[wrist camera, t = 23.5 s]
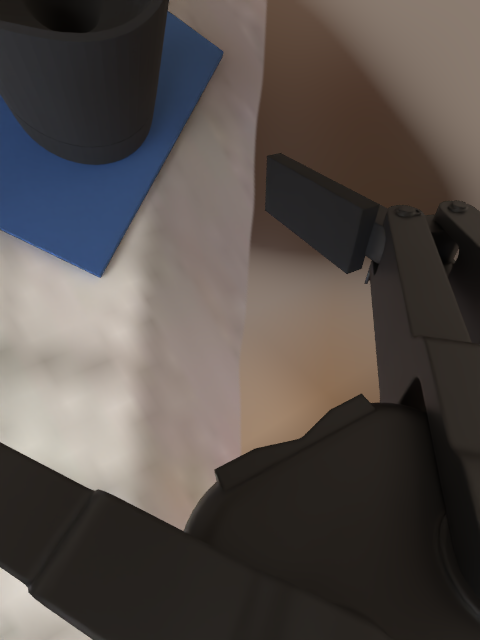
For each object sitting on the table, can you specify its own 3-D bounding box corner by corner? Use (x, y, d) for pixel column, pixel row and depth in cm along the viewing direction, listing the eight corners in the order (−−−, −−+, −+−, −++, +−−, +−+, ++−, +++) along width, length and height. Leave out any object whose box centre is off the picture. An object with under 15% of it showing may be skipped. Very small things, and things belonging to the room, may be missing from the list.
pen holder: (150, 49, 23) (160, -156, 14) (164, 177, 23) (184, 59, 13) (-4, 24, 20) (-129, -257, 11) (10, 170, 20) (-106, 14, 10)
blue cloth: (-100, 181, 19) (-108, 176, 18) (71, -52, 22) (69, -62, 22) (100, 278, 22) (99, 276, 21) (222, 58, 25) (223, 51, 25)
